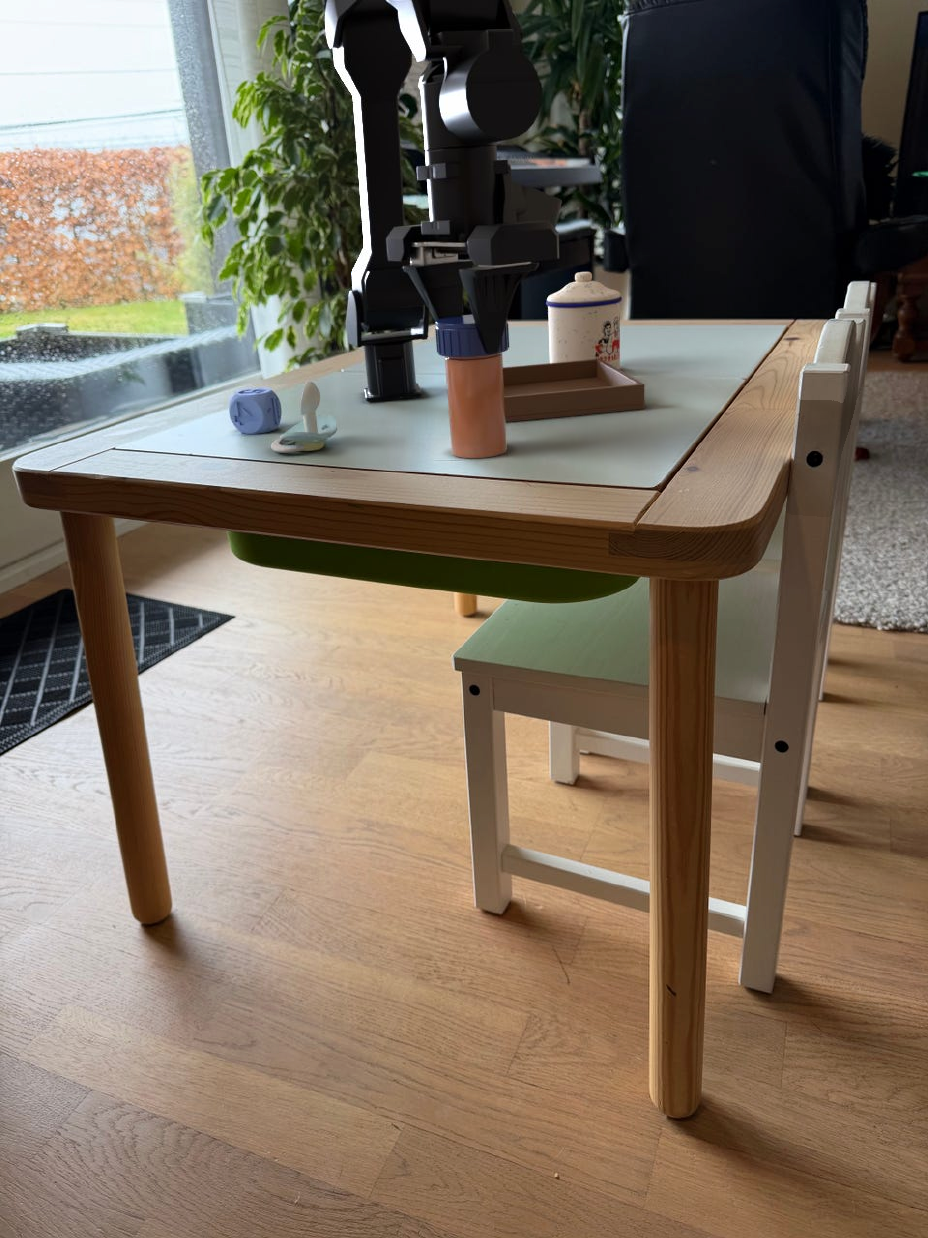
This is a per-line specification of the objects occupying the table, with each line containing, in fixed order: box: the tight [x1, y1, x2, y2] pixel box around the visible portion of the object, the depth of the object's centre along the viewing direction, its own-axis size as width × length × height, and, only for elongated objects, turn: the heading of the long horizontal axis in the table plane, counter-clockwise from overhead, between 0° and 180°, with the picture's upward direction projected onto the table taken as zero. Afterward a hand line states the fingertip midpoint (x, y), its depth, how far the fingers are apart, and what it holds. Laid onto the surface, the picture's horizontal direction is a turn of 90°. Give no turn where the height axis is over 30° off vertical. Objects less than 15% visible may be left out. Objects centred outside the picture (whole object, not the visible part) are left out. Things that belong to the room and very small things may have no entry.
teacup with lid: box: [545, 271, 623, 370], centre depth 117 cm, size 12×9×12 cm
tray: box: [503, 359, 645, 423], centre depth 103 cm, size 17×15×2 cm
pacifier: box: [270, 380, 338, 454], centre depth 90 cm, size 7×6×6 cm
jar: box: [444, 352, 508, 459], centre depth 83 cm, size 5×5×11 cm
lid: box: [434, 314, 510, 358], centre depth 82 cm, size 6×6×3 cm
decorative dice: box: [228, 387, 283, 435], centre depth 99 cm, size 4×4×4 cm
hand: (473, 349), depth 82 cm, fingers closed on lid, 6 cm apart
